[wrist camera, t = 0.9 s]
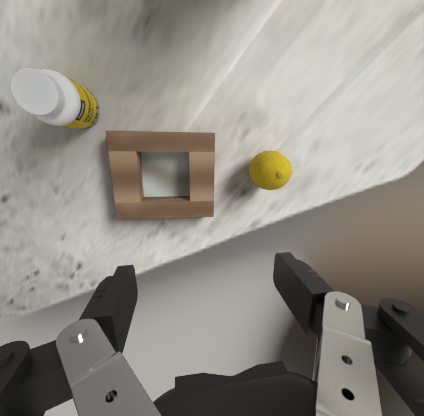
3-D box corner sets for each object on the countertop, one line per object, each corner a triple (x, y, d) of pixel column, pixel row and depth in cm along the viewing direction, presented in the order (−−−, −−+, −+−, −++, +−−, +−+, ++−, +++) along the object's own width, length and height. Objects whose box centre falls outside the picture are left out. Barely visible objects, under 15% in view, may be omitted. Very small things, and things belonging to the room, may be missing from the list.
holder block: (113, 131, 31) (105, 130, 27) (211, 133, 32) (214, 132, 29) (122, 212, 34) (116, 219, 31) (210, 209, 36) (213, 216, 33)
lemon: (244, 185, 36) (261, 198, 28) (242, 151, 34) (259, 154, 26) (275, 181, 36) (301, 192, 29) (275, 147, 34) (302, 149, 27)
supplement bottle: (103, 130, 30) (69, 125, 21) (61, 128, 30) (7, 122, 20) (99, 87, 29) (60, 61, 19) (54, 83, 28) (-8, 55, 19)
